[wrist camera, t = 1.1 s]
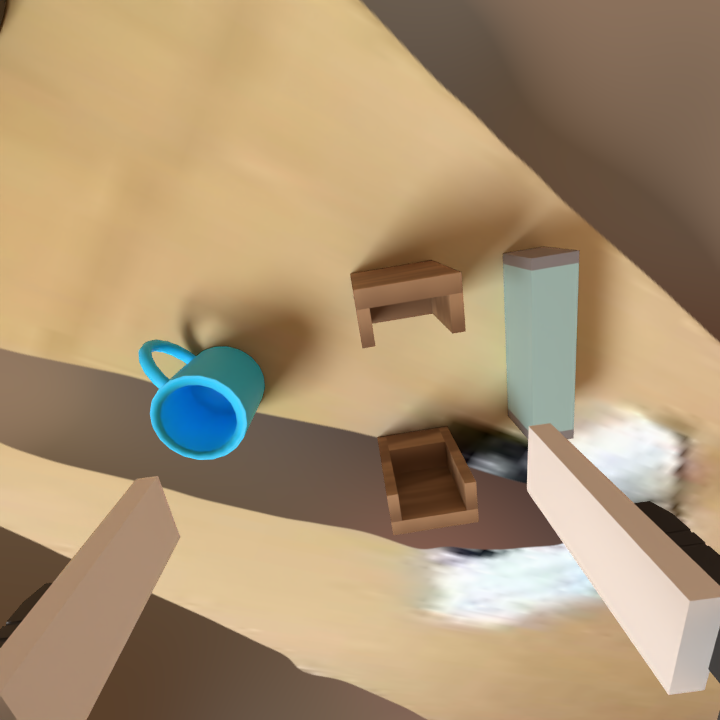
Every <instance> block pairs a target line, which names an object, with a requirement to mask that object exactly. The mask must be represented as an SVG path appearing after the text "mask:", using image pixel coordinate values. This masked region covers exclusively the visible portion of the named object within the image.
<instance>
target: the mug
mask: <svg viewBox="0 0 720 720" xmlns="http://www.w3.org/2000/svg"><path fill="white" fill-rule="evenodd" d="M153 351H158V352H164V353H167V354H169V355H172V356H174V357H176V358H178V359H180V360H182V361H184V362H185V363H186V364H187V365H185V366H184V367H183V368H182V369H181V370H180V371H179V372H178V373H176V374H175V375H174V376H173V377H172V378H171V379H170V380H169V379H168V378H167V377H166V376H165V375H164V374H163V373H162V372H161V370H160V369H159V368H158V367H157V366H156V364H155V362H154V360H153V358H152V353H151V352H153ZM139 362H140V364H141V366H142V368H143V370H144V372H145V374H146V375H147V376H148V378H149V379H150V380H151V381H152V382H153V384H154V385H155V386H157V387H158V388H159V390H158V392H157V393H156V395H155V397H154V398H153V400H152V404H151V410H150V416H151V422H152V427H153V428H154V430H155V432H156V434H157V435H158V437H159V439H160V440H161V441H162V442H163V443H164V444H165V445H167V447H169V448H170V449H171V450H173V451H175V452H177V453H178V454H181V455H182V456H185V457H189V458H193V459H197V460H205V459H215V458H218V457H222V456H225V455H227V454H228V453H230V452H231V451H233V450H234V449H235V448H237V446H238V445H239V444H240V442H241V441H242V439H243V438H244V436H245V434H246V432H247V430H248V427H249V425H250V423H251V421H252V418H253V417H254V414H255V412H256V410H257V408H258V406H259V404H260V402H261V400H262V397H263V393H264V389H265V383H264V376H263V373H262V371H261V369H260V367H259V365H258V364H257V363H256V362H255V361H254V359H253V358H252V357H251V356H249V355H248V354H246V353H244V352H243V351H241V350H239V349H235V348H232V347H228V346H219V347H212V348H209V349H206V350H203V351H202V352H201V353H200V354H198V355H197V356H195V355H194V354H192V353H191V352H189V351H188V350H186V349H184V348H182V347H180V346H178V345H176V344H173V343H170V342H168V341H162V340H152V341H148V342H145V343H144V344H143V346H142V347H141V349H140V350H139Z"/></svg>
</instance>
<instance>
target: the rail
mask: <svg viewBox="0 0 720 720" xmlns="http://www.w3.org/2000/svg"><path fill="white" fill-rule="evenodd" d="M503 271H504V302H505V333H506V363H507V394H508V416H509V418H510V419H511V420H512V421H513V422H514V423H515V424H516V426H517V427H518V428H519V429H520V430H521V431H522V433H523V434H524V435H525V436H526V437H527V438H528V434H529V426H534V425H541V424H548V423H551V424H552V425H553V426H554V427H555V428H556V429H557V430H558V431H559V432H560V433H561V434H562V435H563V436H564V437H565V438H566V439H571V438H573V434H574V402H575V371H576V340H577V309H578V278H579V250H570V249H560V248H551V247H539V248H533V249H527V250H521V251H515V252H509V253H503Z"/></svg>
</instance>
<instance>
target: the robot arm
mask: <svg viewBox="0 0 720 720" xmlns="http://www.w3.org/2000/svg"><path fill="white" fill-rule="evenodd" d="M5 3H6V0H0V25H1V22H2V18H3V14H4V9H5ZM527 491H528V492H529V494H530V495H531V497H532V498H533V500H534V501H535V503H536V504H537V506H538V507H539V508H540V509H541V511H542V513H543V514H544V516H545V517H546V519H547V520H548V521H549V523H550V524H551V526H552V527H553V529H554V530H555V531H556V533H557V534H558V536H559V537H560V539H561V540H562V541H563V543H564V544H565V546H566V547H567V549H568V550H569V552H570V553H571V555H572V556H573V557H574V559H575V560H576V562H577V563H578V565H579V566H580V568H581V569H582V570H583V572H584V573H585V575H586V576H587V578H588V579H589V581H590V582H591V583H592V585H593V586H594V588H595V589H596V591H597V592H598V594H599V595H600V596H601V598H602V599H603V601H604V602H605V604H606V605H607V607H608V608H609V609H610V611H611V612H612V614H613V615H614V617H615V618H616V620H617V621H618V622H619V624H620V625H621V627H622V628H623V630H624V631H625V633H626V634H627V635H628V637H629V638H630V640H631V641H632V643H633V644H634V645H635V647H636V648H637V650H638V651H639V653H640V654H641V656H642V657H643V658H644V660H645V661H646V663H647V664H648V666H649V667H650V669H651V670H652V671H653V673H654V674H655V676H656V677H657V679H658V680H659V682H660V683H661V684H662V686H663V687H664V689H665V690H666V692H667V693H668V695H671V694H679V693H686V692H694V691H701V690H705V686H706V683H707V679H708V675H709V672H711V673H712V674H713V675H714V677H715V678H716V679H717V680H718V682H719V683H720V555H719V554H718V553H717V552H715V551H714V550H713V549H712V548H711V547H710V546H706V544H705V542H704V541H703V540H702V539H701V538H700V537H698V536H697V535H696V534H695V533H694V532H693V533H692V532H691V531H690V529H689V528H688V527H687V526H686V525H685V524H684V523H682V522H681V521H680V520H679V519H678V518H677V517H676V516H675V515H673V514H672V513H670V512H669V511H667V510H665V509H663V508H661V507H659V506H658V505H656V504H654V503H652V502H650V501H647V502H640V503H633V502H632V501H631V500H630V499H629V498H628V497H627V496H626V495H625V494H624V493H623V492H622V491H620V490H619V489H618V488H617V487H616V486H615V485H614V484H613V483H612V482H611V481H610V480H609V479H608V478H607V477H606V476H605V475H604V474H603V473H602V472H601V471H600V470H599V469H598V468H596V467H595V466H594V465H593V464H592V463H591V462H590V461H589V460H588V459H587V458H586V457H585V456H584V455H583V454H582V453H581V452H580V451H579V450H578V449H577V448H576V447H575V446H574V445H573V444H571V443H570V442H569V441H568V440H567V439H566V438H565V437H564V436H563V435H562V434H561V433H560V432H559V431H558V430H557V429H556V428H555V427H554V426H553V425H552V424H551V423H548V424H541V425H534V426H529V434H528V474H527ZM179 539H180V535H179V533H178V530H177V527H176V524H175V522H174V519H173V516H172V513H171V511H170V508H169V505H168V502H167V500H166V497H165V494H164V491H163V489H162V486H161V483H160V481H159V478H158V476H155V477H148V478H140V479H136V480H135V481H134V482H133V484H132V485H131V486H130V487H129V489H128V490H127V491H126V492H125V494H124V495H123V496H122V497H121V499H120V500H119V501H118V502H117V504H116V505H115V506H114V507H113V509H112V510H111V511H110V512H109V514H108V515H107V516H106V517H105V519H104V520H103V521H102V522H101V524H100V525H99V526H98V527H97V529H96V530H95V531H94V532H93V534H92V535H91V536H90V537H89V538H88V540H87V541H86V542H85V543H84V545H83V546H82V547H81V548H80V550H79V551H78V552H77V553H76V555H75V556H74V557H73V558H72V560H71V561H70V562H69V564H68V565H67V566H66V567H65V568H64V570H63V571H62V572H61V573H60V575H59V576H58V577H57V578H56V580H55V581H54V582H53V583H47V584H44V585H43V586H42V587H41V588H40V589H38V590H37V591H36V592H35V593H34V594H32V595H31V596H30V597H29V598H28V599H26V600H25V601H24V602H23V603H22V604H21V605H20V607H19V608H18V609H17V610H16V611H15V613H14V614H13V615H12V616H11V617H10V619H9V620H8V621H7V622H6V626H3V627H2V628H1V629H0V720H86V719H87V717H88V715H89V713H90V711H91V709H92V708H93V706H94V703H95V702H96V700H97V698H98V696H99V694H100V692H101V690H102V688H103V686H104V684H105V682H106V680H107V678H108V676H109V675H110V672H111V671H112V669H113V667H114V665H115V663H116V661H117V659H118V657H119V655H120V653H121V651H122V649H123V647H124V645H125V643H126V641H127V640H128V638H129V635H130V634H131V632H132V630H133V628H134V626H135V624H136V622H137V620H138V618H139V616H140V614H141V612H142V610H143V608H144V606H145V605H146V603H147V601H148V599H149V597H150V595H151V593H152V591H153V589H154V587H155V585H156V583H157V581H158V579H159V577H160V575H161V574H162V572H163V570H164V568H165V566H166V564H167V562H168V560H169V558H170V556H171V554H172V552H173V550H174V548H175V546H176V544H177V542H178V540H179ZM717 720H720V712H719V715H718V719H717Z"/></svg>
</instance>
